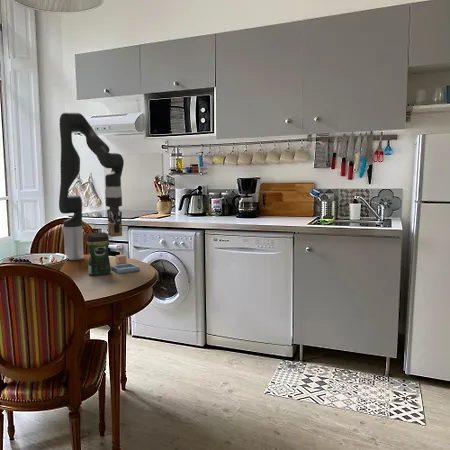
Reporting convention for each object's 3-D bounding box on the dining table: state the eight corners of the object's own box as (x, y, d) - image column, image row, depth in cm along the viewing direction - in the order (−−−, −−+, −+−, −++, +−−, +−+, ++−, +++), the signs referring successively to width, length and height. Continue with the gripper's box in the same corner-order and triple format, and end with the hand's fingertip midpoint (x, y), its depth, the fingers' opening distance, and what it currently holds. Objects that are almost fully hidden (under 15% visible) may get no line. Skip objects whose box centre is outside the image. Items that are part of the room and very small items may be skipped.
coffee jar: (108, 270, 198) (106, 230, 196) (112, 274, 191) (110, 232, 189) (86, 273, 194) (84, 232, 191) (90, 276, 187) (88, 234, 184)
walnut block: (108, 235, 205) (108, 222, 204) (118, 234, 207) (118, 221, 206) (111, 236, 201) (111, 224, 200) (122, 236, 203) (122, 223, 202)
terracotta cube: (115, 263, 215) (115, 255, 214) (123, 262, 217) (123, 254, 216) (118, 264, 211) (118, 256, 211) (126, 263, 214) (126, 255, 213)
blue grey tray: (110, 269, 200) (110, 265, 200) (131, 266, 206) (131, 263, 205) (118, 273, 192) (118, 269, 192) (139, 270, 197) (139, 266, 197)
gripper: (100, 195, 205) (102, 231, 207) (111, 197, 193) (112, 234, 196) (116, 195, 209) (117, 229, 212) (126, 196, 198) (128, 233, 200)
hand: (115, 231), depth 204 cm, fingers closed on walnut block, 5 cm apart
